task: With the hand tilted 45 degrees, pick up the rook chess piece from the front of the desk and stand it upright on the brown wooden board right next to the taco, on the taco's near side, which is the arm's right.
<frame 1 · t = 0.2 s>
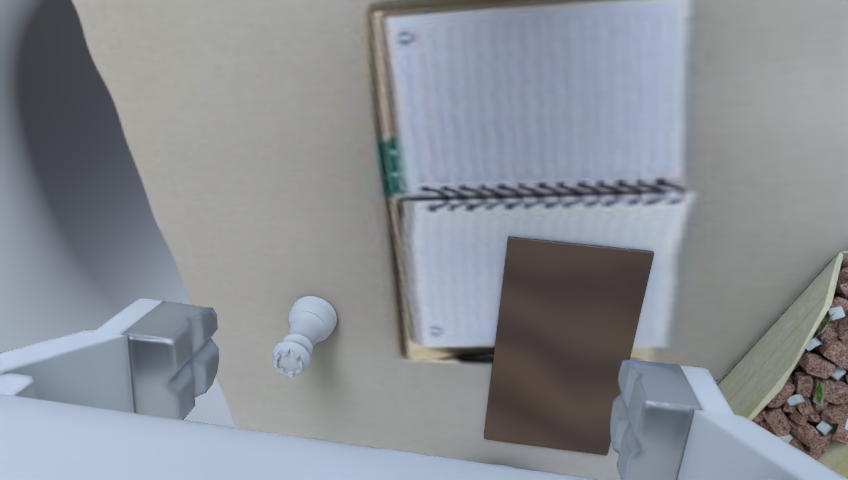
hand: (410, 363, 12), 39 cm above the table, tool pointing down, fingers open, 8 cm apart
brown wooden board: (560, 352, 57), on the table
taco: (757, 364, 55), on the table
rook chess piece: (315, 312, 59), on the table
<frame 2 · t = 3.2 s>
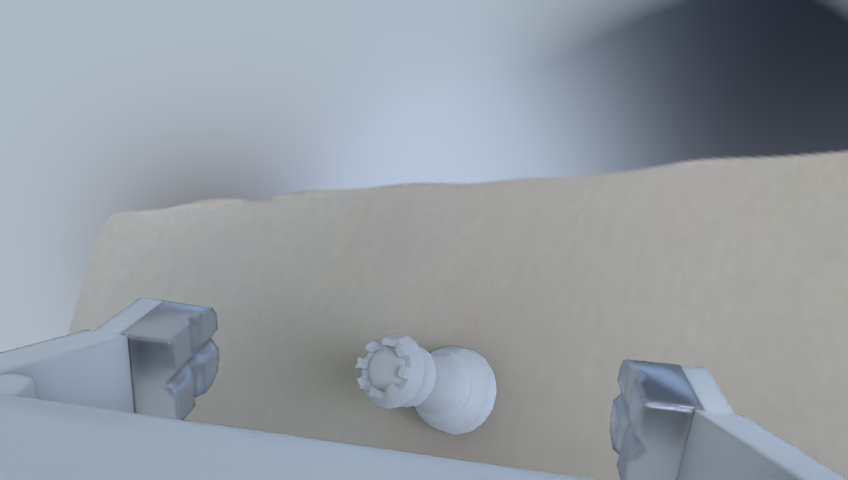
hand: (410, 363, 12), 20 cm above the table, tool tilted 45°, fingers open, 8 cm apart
rook chess piece: (462, 392, 33), on the table
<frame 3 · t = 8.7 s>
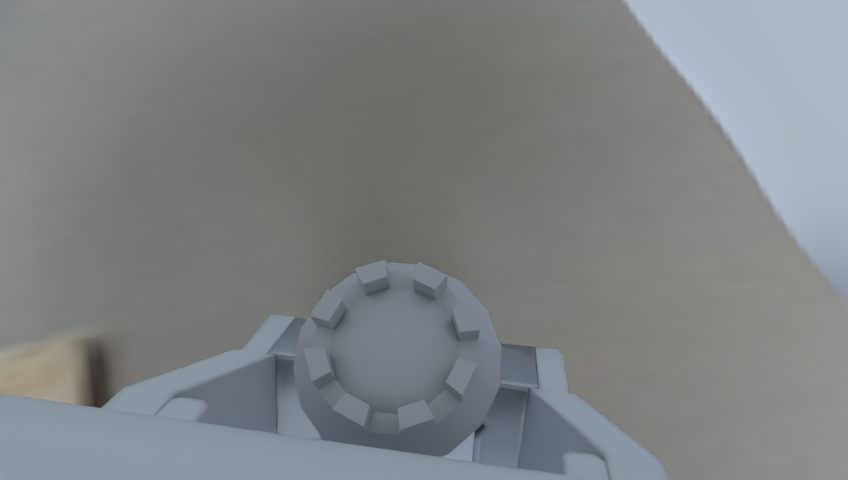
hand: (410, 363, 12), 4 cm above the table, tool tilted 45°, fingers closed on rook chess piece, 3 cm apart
rook chess piece: (418, 432, 16), on the table, touching gripper
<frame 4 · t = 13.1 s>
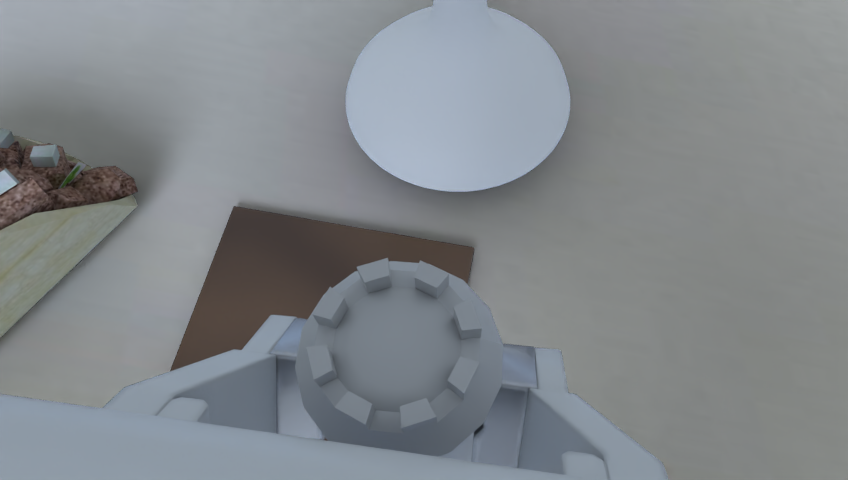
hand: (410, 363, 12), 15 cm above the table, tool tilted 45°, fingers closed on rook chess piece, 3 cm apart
flower in vase: (443, 111, 34), on the table
brown wooden board: (285, 463, 26), on the table
rook chess piece: (419, 431, 16), point 10 cm above the table, touching gripper
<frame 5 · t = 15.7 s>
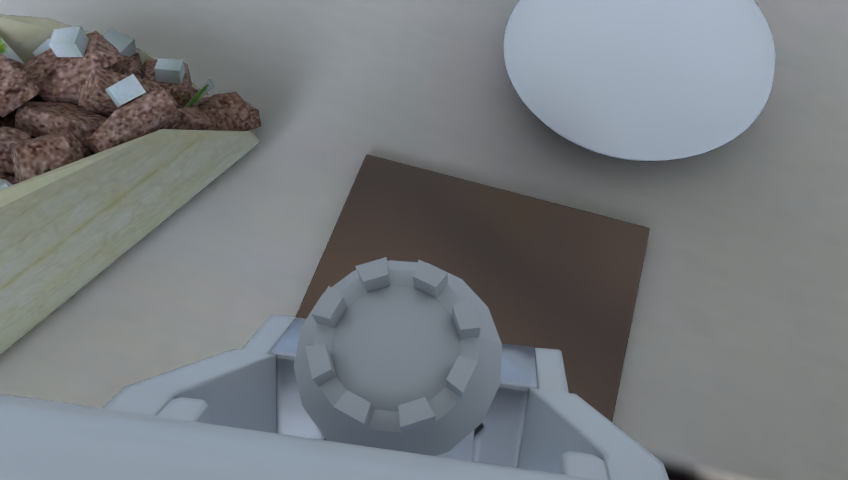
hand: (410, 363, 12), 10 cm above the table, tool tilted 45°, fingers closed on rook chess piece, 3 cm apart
flower in vase: (609, 69, 29), on the table
brown wooden board: (418, 458, 22), on the table
rook chess piece: (418, 430, 16), point 6 cm above the table, touching gripper
when the fingers open (5 cm above the table, at t = 17.6 s): rook chess piece stays where it is, resting on brown wooden board.
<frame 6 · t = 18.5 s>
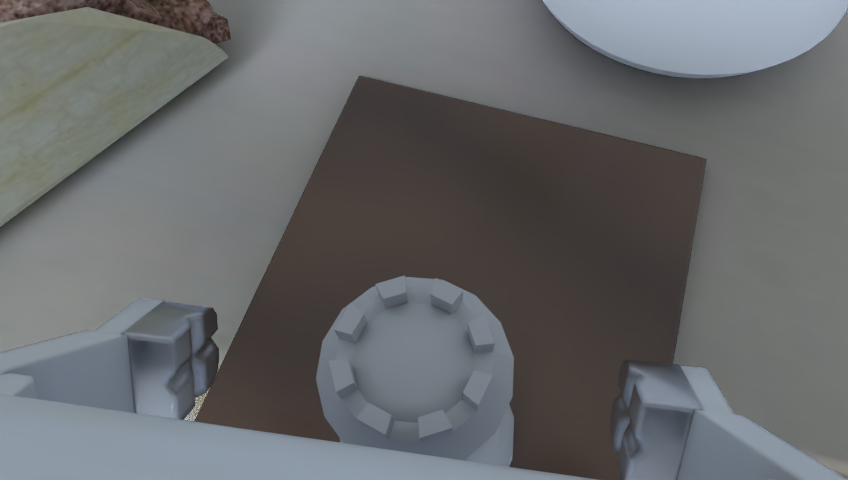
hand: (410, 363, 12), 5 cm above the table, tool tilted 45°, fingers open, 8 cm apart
brown wooden board: (421, 438, 17), on the table
rook chess piece: (428, 437, 17), resting on brown wooden board
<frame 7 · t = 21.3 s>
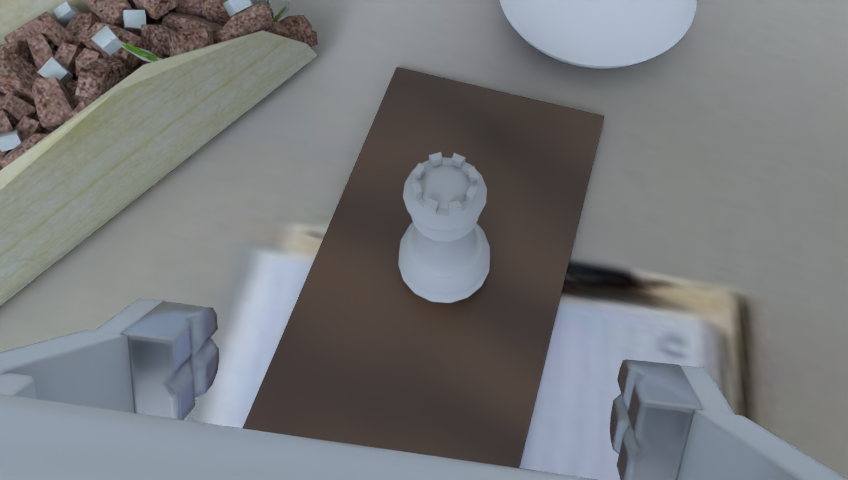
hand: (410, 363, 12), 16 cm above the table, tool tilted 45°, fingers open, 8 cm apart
flower in vase: (578, 7, 38), on the table
brown wooden board: (439, 266, 31), on the table
taco: (120, 185, 34), on the table
rook chess piece: (444, 264, 31), resting on brown wooden board
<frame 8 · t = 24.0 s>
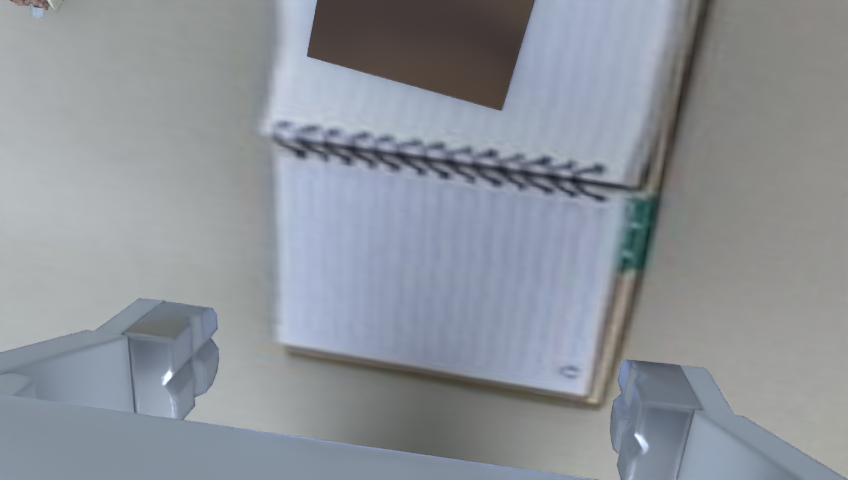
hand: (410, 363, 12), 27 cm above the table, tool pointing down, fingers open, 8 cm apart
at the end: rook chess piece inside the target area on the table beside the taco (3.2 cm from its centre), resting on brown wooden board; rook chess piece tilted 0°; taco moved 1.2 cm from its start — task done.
